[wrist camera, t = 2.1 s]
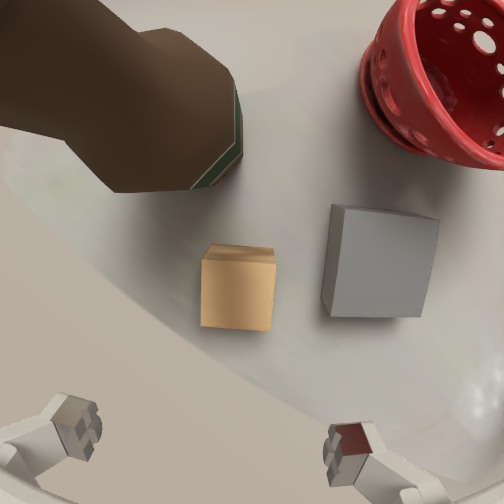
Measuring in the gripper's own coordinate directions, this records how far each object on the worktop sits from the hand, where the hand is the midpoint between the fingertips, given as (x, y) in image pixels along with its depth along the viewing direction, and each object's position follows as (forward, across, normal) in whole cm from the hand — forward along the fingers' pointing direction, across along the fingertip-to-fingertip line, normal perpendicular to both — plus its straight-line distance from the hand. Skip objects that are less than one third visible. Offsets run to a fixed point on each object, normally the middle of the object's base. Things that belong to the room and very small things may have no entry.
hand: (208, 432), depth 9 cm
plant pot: (+18, -14, -17) cm, 29 cm away
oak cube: (+18, 0, 0) cm, 18 cm away
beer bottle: (+18, +4, -11) cm, 21 cm away
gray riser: (+18, -12, -3) cm, 21 cm away
